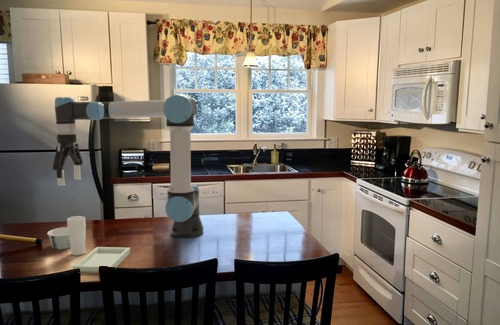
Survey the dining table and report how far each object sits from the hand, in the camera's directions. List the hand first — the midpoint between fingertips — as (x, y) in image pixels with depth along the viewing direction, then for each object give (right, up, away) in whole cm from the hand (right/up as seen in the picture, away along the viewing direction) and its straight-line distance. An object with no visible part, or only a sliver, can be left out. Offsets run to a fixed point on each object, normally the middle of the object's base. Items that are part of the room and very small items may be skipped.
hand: (69, 182), depth 174 cm
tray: (+22, -30, -19) cm, 42 cm away
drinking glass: (+8, -29, -10) cm, 32 cm away
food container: (-2, -28, -1) cm, 28 cm away
